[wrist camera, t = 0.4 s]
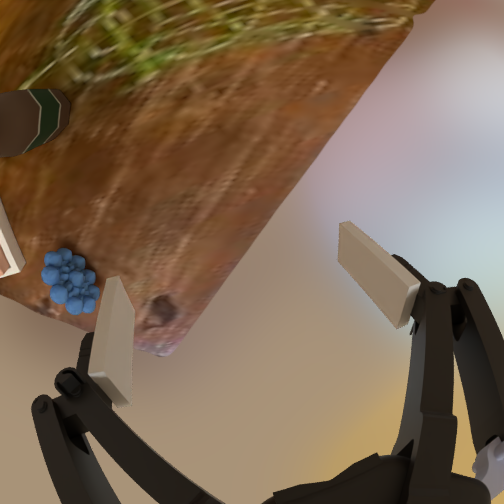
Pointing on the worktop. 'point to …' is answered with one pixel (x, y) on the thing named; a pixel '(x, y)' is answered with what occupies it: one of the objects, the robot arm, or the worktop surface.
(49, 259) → the grapes
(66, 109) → the beer bottle
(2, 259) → the terracotta button
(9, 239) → the console
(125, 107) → the worktop surface
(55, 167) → the worktop surface
